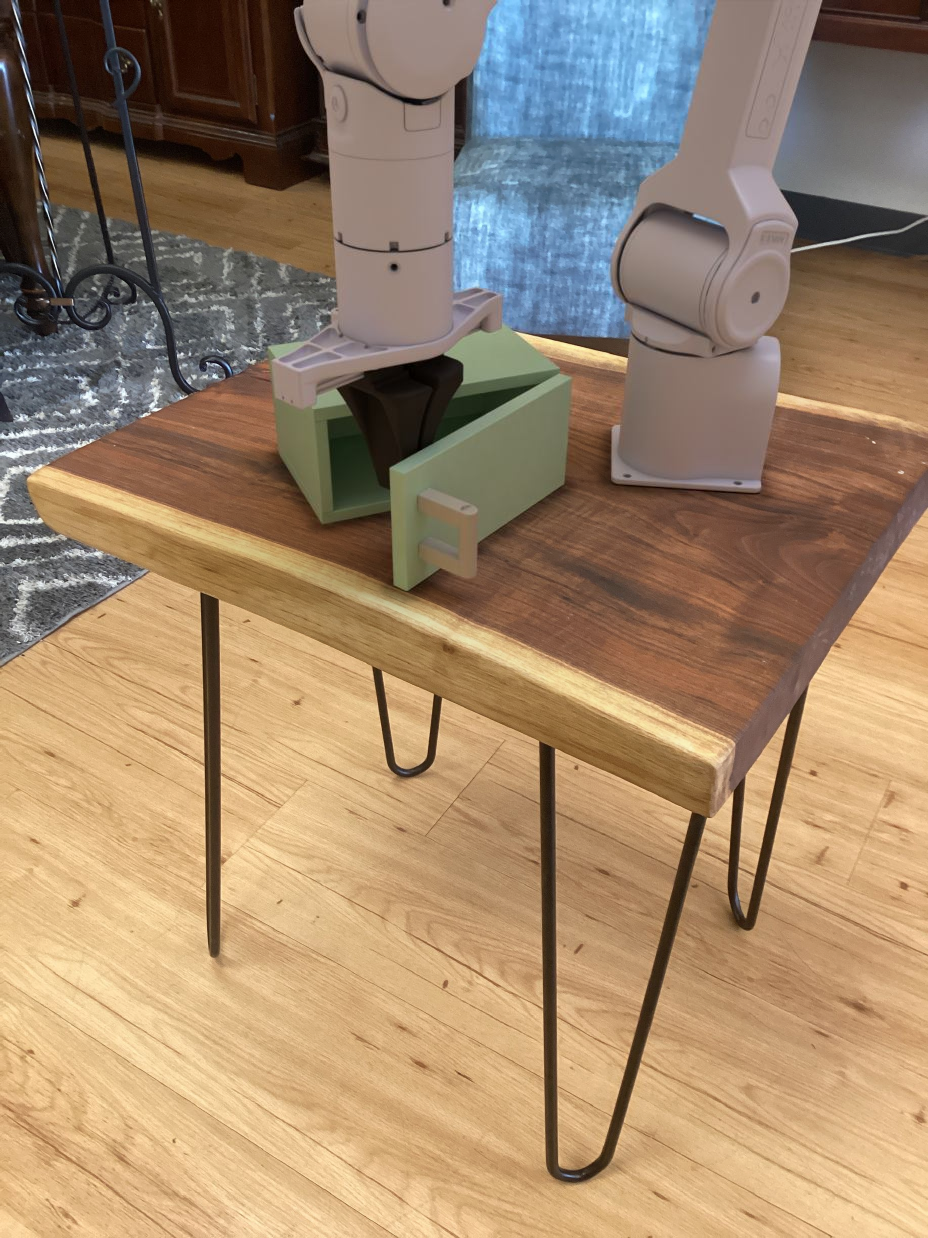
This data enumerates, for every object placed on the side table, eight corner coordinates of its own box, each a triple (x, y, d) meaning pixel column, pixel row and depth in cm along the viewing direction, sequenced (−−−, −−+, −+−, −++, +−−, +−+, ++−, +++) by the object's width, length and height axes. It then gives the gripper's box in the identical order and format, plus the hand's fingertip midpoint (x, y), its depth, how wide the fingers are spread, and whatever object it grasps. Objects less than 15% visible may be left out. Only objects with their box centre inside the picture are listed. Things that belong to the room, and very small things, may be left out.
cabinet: (552, 478, 68) (560, 367, 63) (322, 525, 63) (312, 409, 58) (489, 416, 75) (492, 313, 71) (278, 454, 70) (267, 345, 66)
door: (611, 501, 65) (623, 392, 61) (457, 615, 55) (458, 495, 51) (551, 479, 67) (559, 372, 63) (393, 585, 57) (388, 467, 53)
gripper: (435, 191, 56) (436, 422, 64) (218, 249, 47) (249, 509, 55) (538, 217, 52) (524, 459, 60) (322, 285, 44) (340, 558, 52)
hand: (399, 486), depth 58 cm, fingers closed
